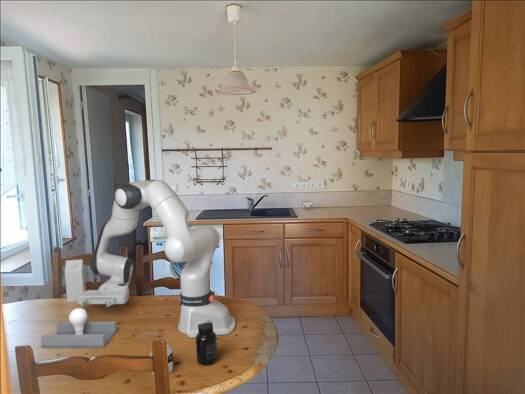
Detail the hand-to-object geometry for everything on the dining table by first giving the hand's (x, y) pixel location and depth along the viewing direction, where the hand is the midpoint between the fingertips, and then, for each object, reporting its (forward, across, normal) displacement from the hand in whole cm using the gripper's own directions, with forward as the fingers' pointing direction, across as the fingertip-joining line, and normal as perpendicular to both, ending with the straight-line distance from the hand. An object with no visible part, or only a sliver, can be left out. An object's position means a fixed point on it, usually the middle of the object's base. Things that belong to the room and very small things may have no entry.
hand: (94, 305), depth 148 cm
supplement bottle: (+26, +49, +8) cm, 56 cm away
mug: (+30, +36, +8) cm, 48 cm away
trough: (+12, 0, +8) cm, 15 cm away
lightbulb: (+12, 0, +7) cm, 14 cm away
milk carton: (-26, -21, +8) cm, 34 cm away
